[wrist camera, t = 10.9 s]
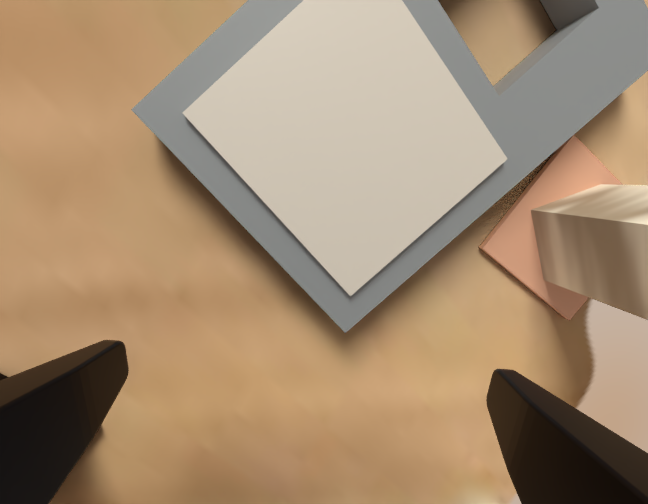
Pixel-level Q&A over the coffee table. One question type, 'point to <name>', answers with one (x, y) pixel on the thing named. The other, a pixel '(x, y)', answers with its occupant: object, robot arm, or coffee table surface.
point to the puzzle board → (378, 127)
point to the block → (598, 244)
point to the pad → (518, 230)
